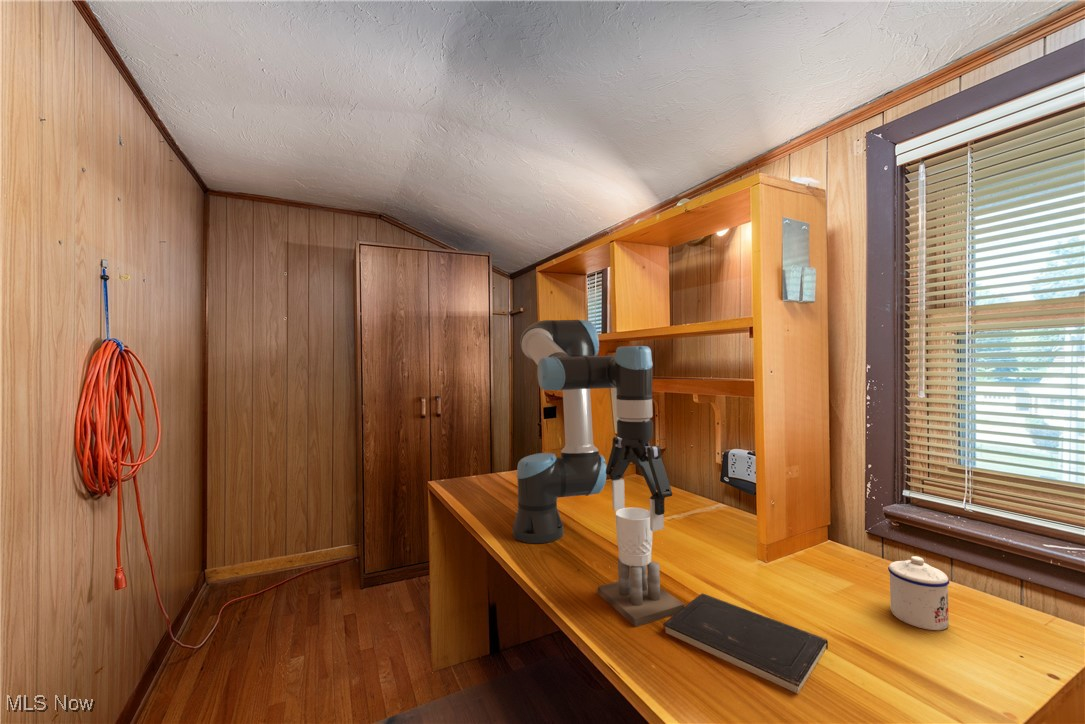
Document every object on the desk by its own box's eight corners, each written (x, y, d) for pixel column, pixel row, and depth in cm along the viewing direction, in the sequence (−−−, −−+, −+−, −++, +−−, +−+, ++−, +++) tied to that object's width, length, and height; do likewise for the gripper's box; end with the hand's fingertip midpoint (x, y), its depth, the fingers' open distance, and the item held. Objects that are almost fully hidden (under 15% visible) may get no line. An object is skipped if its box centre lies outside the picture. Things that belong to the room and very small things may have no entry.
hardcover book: (798, 699, 68) (798, 684, 68) (663, 635, 84) (662, 623, 84) (828, 650, 79) (827, 637, 79) (703, 602, 95) (703, 591, 95)
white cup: (654, 569, 92) (653, 520, 92) (615, 566, 93) (614, 518, 93) (653, 553, 99) (652, 508, 99) (617, 551, 101) (616, 506, 101)
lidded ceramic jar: (949, 638, 81) (948, 573, 81) (886, 619, 87) (884, 559, 87) (951, 610, 89) (950, 551, 89) (893, 595, 96) (892, 540, 96)
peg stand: (597, 593, 99) (596, 554, 99) (642, 581, 104) (641, 544, 104) (635, 626, 86) (634, 582, 86) (684, 611, 91) (683, 569, 91)
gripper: (690, 425, 85) (691, 536, 86) (617, 411, 108) (618, 499, 108) (657, 428, 82) (659, 543, 83) (589, 413, 105) (591, 504, 105)
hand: (636, 518), depth 96 cm, fingers open, 13 cm apart
